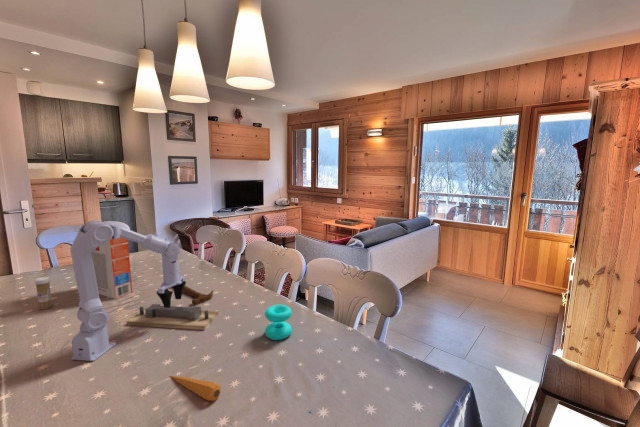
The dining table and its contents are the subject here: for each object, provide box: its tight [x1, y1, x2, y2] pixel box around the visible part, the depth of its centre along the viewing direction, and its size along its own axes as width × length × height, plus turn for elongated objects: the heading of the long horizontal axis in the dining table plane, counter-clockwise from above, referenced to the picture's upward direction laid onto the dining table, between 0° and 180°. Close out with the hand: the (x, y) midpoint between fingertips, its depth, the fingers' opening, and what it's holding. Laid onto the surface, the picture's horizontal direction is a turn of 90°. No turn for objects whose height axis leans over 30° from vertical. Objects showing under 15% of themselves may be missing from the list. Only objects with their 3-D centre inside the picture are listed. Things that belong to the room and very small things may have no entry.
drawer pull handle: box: [144, 303, 202, 321], centre depth 120 cm, size 5×21×4 cm, turn 85°
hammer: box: [182, 285, 214, 306], centre depth 147 cm, size 12×3×30 cm
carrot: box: [169, 375, 222, 402], centre depth 83 cm, size 20×4×4 cm, turn 62°
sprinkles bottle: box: [34, 276, 53, 310], centre depth 129 cm, size 5×5×14 cm
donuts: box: [264, 304, 293, 341], centre depth 110 cm, size 10×10×10 cm
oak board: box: [126, 306, 219, 331], centre depth 120 cm, size 12×32×4 cm, turn 84°
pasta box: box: [91, 238, 133, 300], centre depth 145 cm, size 23×8×30 cm, turn 65°
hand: (172, 303), depth 119 cm, fingers open, 7 cm apart
